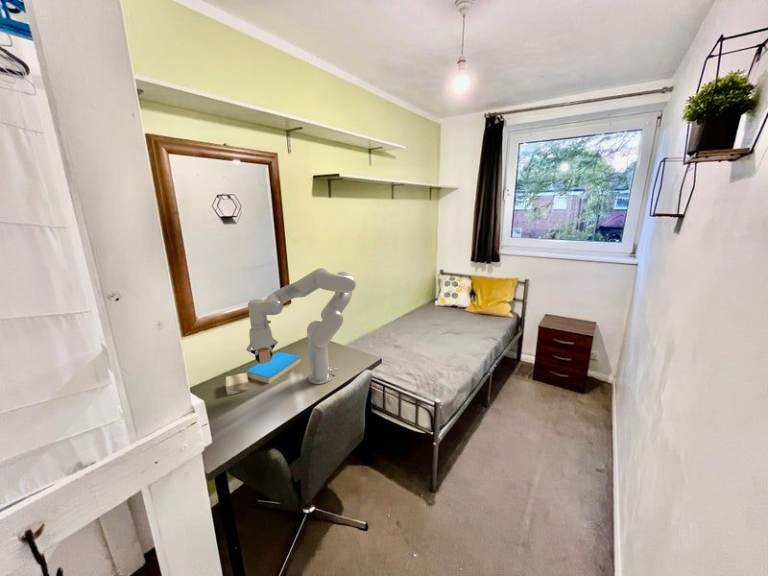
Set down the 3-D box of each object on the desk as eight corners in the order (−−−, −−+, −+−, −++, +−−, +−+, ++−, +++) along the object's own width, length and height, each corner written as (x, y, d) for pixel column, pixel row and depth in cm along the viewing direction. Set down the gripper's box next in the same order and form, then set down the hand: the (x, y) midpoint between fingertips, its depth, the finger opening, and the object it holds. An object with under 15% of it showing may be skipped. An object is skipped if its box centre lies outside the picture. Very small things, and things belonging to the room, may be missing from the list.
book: (300, 356, 187) (269, 377, 165) (301, 363, 188) (270, 384, 166) (277, 351, 194) (244, 370, 172) (278, 358, 195) (245, 377, 173)
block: (268, 357, 161) (266, 346, 159) (271, 361, 157) (269, 350, 155) (258, 360, 158) (256, 349, 157) (260, 364, 154) (258, 352, 153)
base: (248, 380, 170) (246, 372, 168) (249, 390, 161) (247, 381, 160) (227, 385, 166) (225, 376, 164) (227, 395, 157) (225, 386, 155)
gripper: (275, 318, 160) (279, 352, 165) (238, 327, 151) (244, 361, 156) (279, 323, 154) (284, 357, 159) (242, 332, 145) (247, 368, 150)
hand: (264, 359), depth 157 cm, fingers closed on block, 5 cm apart
